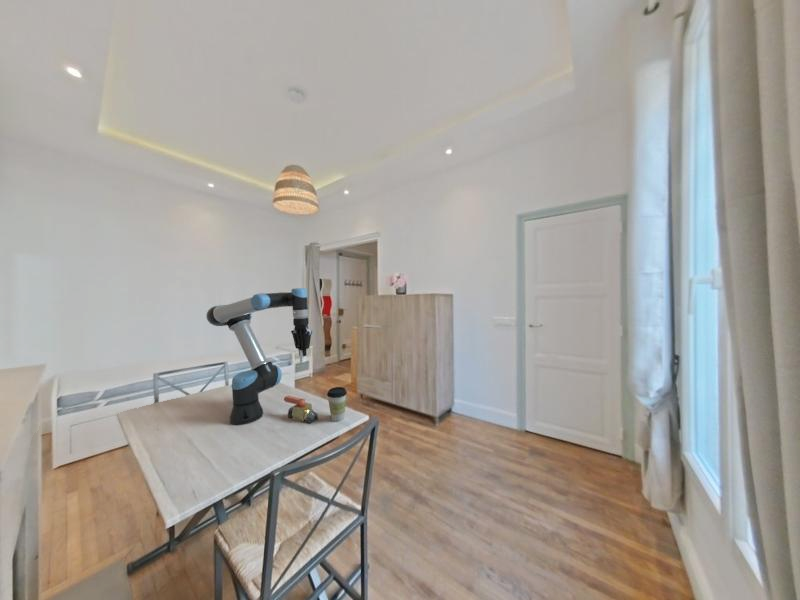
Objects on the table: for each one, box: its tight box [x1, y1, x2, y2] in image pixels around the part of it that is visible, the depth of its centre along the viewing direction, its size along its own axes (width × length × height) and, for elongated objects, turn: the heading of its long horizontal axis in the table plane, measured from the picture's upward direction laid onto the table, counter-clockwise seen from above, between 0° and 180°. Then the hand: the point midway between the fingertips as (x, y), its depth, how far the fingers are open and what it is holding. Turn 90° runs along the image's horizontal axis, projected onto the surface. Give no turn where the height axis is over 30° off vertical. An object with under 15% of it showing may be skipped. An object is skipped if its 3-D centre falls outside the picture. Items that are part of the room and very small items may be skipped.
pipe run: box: [287, 402, 319, 425], centre depth 140 cm, size 16×6×8 cm, turn 65°
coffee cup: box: [326, 386, 348, 423], centre depth 139 cm, size 10×10×15 cm
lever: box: [283, 395, 307, 406], centre depth 142 cm, size 14×3×3 cm, turn 64°
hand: (303, 361), depth 144 cm, fingers closed
